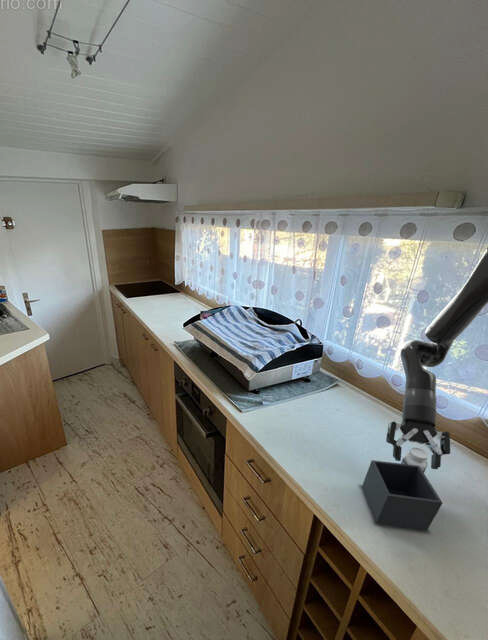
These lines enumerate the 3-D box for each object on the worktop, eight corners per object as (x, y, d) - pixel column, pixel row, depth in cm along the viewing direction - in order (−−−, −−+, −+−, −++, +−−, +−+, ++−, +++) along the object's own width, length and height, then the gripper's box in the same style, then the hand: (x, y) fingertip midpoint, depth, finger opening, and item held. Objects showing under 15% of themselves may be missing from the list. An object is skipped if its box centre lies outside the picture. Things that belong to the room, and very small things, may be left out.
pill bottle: (408, 469, 89) (419, 444, 85) (423, 484, 85) (436, 458, 80) (391, 472, 89) (402, 447, 84) (406, 487, 84) (418, 461, 79)
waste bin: (406, 492, 82) (419, 465, 78) (426, 531, 73) (442, 503, 68) (361, 486, 84) (371, 460, 80) (375, 523, 75) (388, 495, 70)
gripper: (395, 399, 86) (390, 457, 82) (456, 409, 81) (455, 471, 77) (386, 404, 92) (381, 458, 88) (442, 414, 88) (440, 471, 84)
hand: (415, 464), depth 83 cm, fingers open, 8 cm apart
